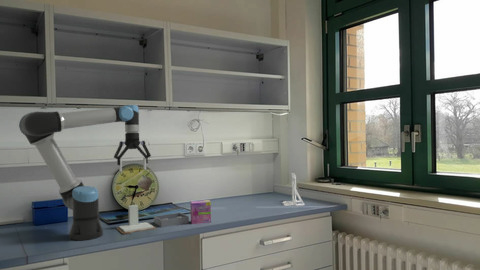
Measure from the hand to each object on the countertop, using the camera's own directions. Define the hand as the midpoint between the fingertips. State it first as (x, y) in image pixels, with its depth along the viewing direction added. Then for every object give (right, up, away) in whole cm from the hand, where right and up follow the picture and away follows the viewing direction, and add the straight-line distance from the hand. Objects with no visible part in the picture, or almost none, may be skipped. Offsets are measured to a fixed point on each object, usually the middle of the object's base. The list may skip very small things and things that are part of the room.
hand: (132, 170), depth 212 cm
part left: (+20, -28, -11) cm, 36 cm away
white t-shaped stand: (+7, -28, -17) cm, 34 cm away
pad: (+7, -29, -17) cm, 34 cm away
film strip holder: (+96, -27, +42) cm, 108 cm away
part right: (+27, -28, -7) cm, 39 cm away
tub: (+23, -28, -7) cm, 37 cm away
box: (+39, -28, -7) cm, 49 cm away
